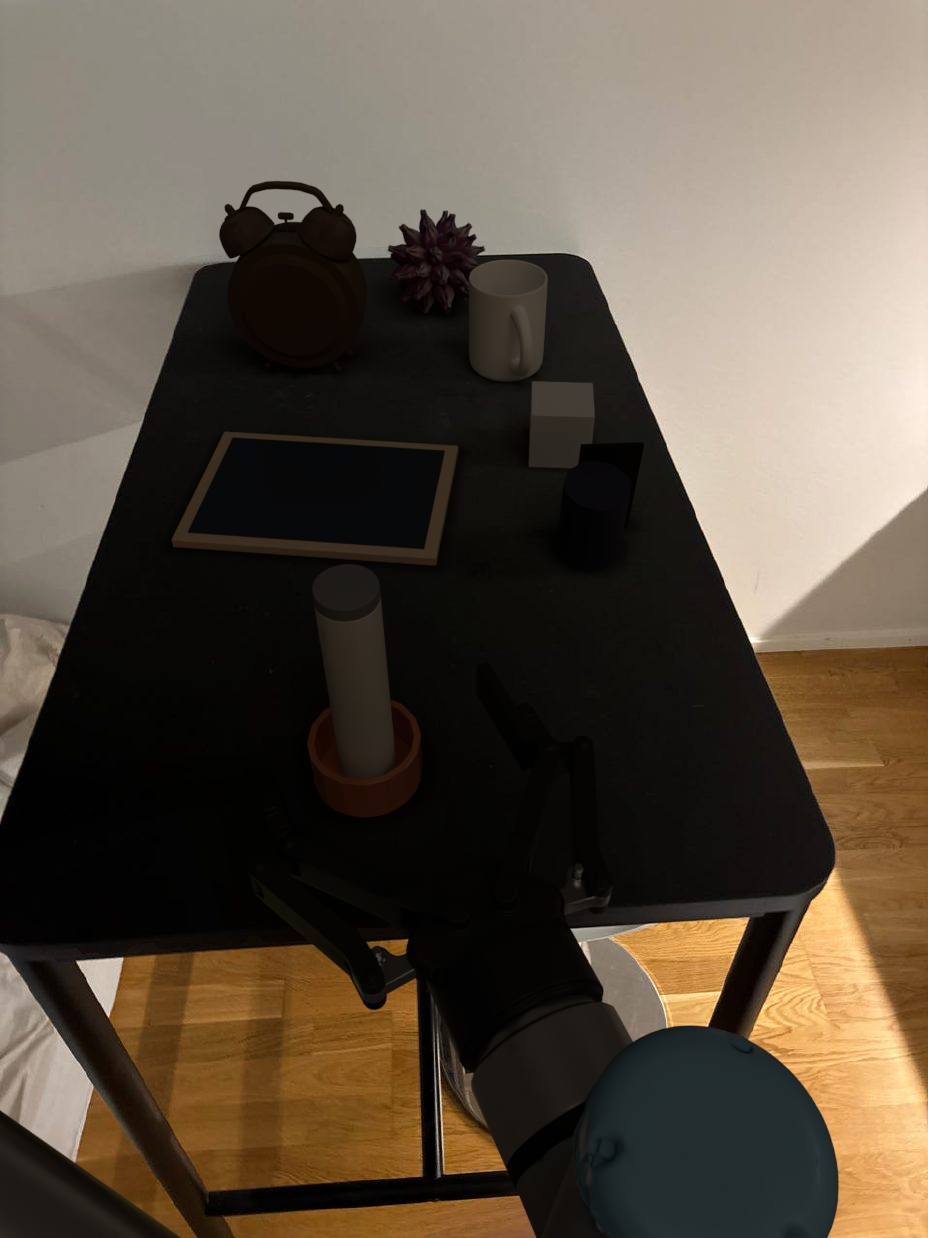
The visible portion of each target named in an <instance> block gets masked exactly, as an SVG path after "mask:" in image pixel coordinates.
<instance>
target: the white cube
mask: <svg viewBox="0 0 928 1238" xmlns="http://www.w3.org/2000/svg"><path fill="white" fill-rule="evenodd" d="M530 397H531V398H530V417H529V436H528V439H529V441H528V468H547V469H548V468H551V469H572V468H573V467H575V466H577V465H578V461H579V453H580V446H581V444H593V438H594V429H595V420H596V419H595V418H596V415H595V395H594V383H593V382H574V381H573V382H572V381H571V382H570V381H569V382H568V381H539V380H538V381H535V380H534V381H533V380H531V396H530Z"/></svg>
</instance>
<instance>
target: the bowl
mask: <svg viewBox="0 0 928 1238" xmlns="http://www.w3.org/2000/svg"><path fill="white" fill-rule="evenodd" d="M390 702H391V713H392V724H393V735H394V746H395V757H396V768H395V769H393V770H391V771H390V772H388V773H387V774H385V775H382V776H378V777H373V778H369V779H354V778H344V777H342V774H341V769H340V763H339V757H338V751H337V745H336V738H335V732H334V726H333V720H332V713H331V707H330V706H329V707H327V708H325V709H324V710H323V711H322V712H321V713H320V714H319V716H318V717H317V719H315V721H313V723H312V724H311V727H310V730H309V733H308V736H307V737H308V738H307V740H306V746H307V750H308V756H309V761H310V766H311V771H312V776H313V781H314V785H315V788H316V789H315V790H316V791H317V793H318V795H319V797H320V798H321V800H322V801H323V802H324V803H325V804H326V805H327V806H329V807H330V808H331V809H332V810H334V811H336V812H338V813H340V814H343V815H345V816H349V817H354V818H364V819H365V818H374V817H375V818H376V817H381V816H383V815H387V814H390V813H392V812H394V811H396V810H398V809H399V808H401V807H402V806H404V805H405V804H406V803H407V802H408V801H409V800H410V799H411V798H412V797H413V796H414V795H415V793H416V791H417V790H418V789H419V786H420V783H421V780H422V776H423V764H424V763H423V762H424V761H423V743H422V733H421V730H420V726H419V724H418V721H417V718H416V716H414V715H413V713H411V712H410V710H409V709H408V708H407V707H406V706H405V705H404V704H403V703H400V702H398V701H395V700H393V699H392V698H390Z"/></svg>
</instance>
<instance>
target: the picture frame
mask: <svg viewBox="0 0 928 1238" xmlns="http://www.w3.org/2000/svg"><path fill="white" fill-rule="evenodd" d="M458 456H459V445H452V444H436V443H435V444H434V443H422V442H421V443H420V442H419V443H418V442H417V443H416V442H405V441H404V442H403V441H389V440H388V441H387V440H386V441H385V440H368V439H356V438H355V439H354V438H353V439H352V438H338V437H337V438H335V437H323V436H322V437H320V436H305V435H290V434H289V435H288V434H273V433H272V434H271V433H253V432H240V431H239V432H236V431H224V432H223V433H222V436H221V438H220V440H219V442H218V444H217V446H216V448H215V450H214V452H213V454H212V456H211V458H210V460H209V463H208V464H207V467H206V468H205V471H204V473H203V475H202V477H201V479H200V480H199V483H198V485H197V487H196V489H195V491H194V493H193V495H192V497H191V499H190V501H189V503H188V506H187V507H186V509H185V512H184V513H183V515H182V517H181V520H180V522H179V523H178V526H177V528H176V529H175V532H174V534H173V536H172V538H171V543H172V547H173V548H181V549H194V550H195V549H196V550H210V551H223V552H237V553H252V554H265V555H278V556H292V557H293V556H295V557H307V558H322V559H335V560H349V561H350V560H351V561H362V562H375V563H376V562H378V563H392V564H407V565H419V566H421V565H422V566H432V567H433V566H434V567H435V566H437V564H438V559H439V554H440V549H441V544H442V538H443V534H444V529H445V523H446V518H447V513H448V508H449V503H450V498H451V493H452V487H453V483H454V476H455V472H456V466H457V463H458V462H457V461H458Z"/></svg>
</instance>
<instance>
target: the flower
mask: <svg viewBox="0 0 928 1238" xmlns="http://www.w3.org/2000/svg"><path fill="white" fill-rule="evenodd" d="M419 213H420V219H419V224H418V230H417V229H415V228H412V227H409V226H408V225H407V224H405V223H401V225H399V226H398V230H400V232H401V234H402V238H403V241H404V243H400V244H397V245H393V244H392V245H391V244H389V245H388V246H387V251H388V252H389V253H390V256H389V258H390V260H391V261H394V262H395V263H397V264H398V266H397V267H396V268H395V269H394V270H393V271H392V272H391V273H389V274H387V277H388V281H389V282H390V281H400V282H399V284H398V285H397V290H398V291H402V290H405V291H404V294H403V296H401V301H402V302H403V303H406V302H407V301H408V300H410V299H411V298H413V299H414V300H415V301H417V302H418V307H417V309H418V310H419V311H422V312H423V314H428V312H429V310H430V308H431V307H432V306H433V304H434V303H435V301H437V303H438V304H439V305H440V307H441V308H442V309H443V312H444V314H450V312H451V310H452V303H453V300H454V297H458V298H460V299H461V300H462V301H464V302H466V301H467V300H469V275H470V273H471V272H472V270H473V269H474V268H476V267H477V266H479V265H481V264H482V263H481V264H480V263H478V262H477V261H476V260H475V259H476V258H477V257H478V256H479V255H480V254H481V253H483V252H486V248H485V245H481V246H479V245H473V243H474V242H475V241H476V240H477V239H478V237H477V235H476V233H473V234H471V235H470V232H471V230H472V228H473V225H472V224H471V223H470V222H467V223H466V224H465V225H463V226H459V227H458V226H457V225H456V216H457V214H456V213H452V212H450V213H449V210H442V214H441V216H440V218H439V220H437V222H436V224H435V222H434V220H433V219H432V218H431V217H430V216H429V214H428V212H427V210H426V209H420V210H419Z"/></svg>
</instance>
